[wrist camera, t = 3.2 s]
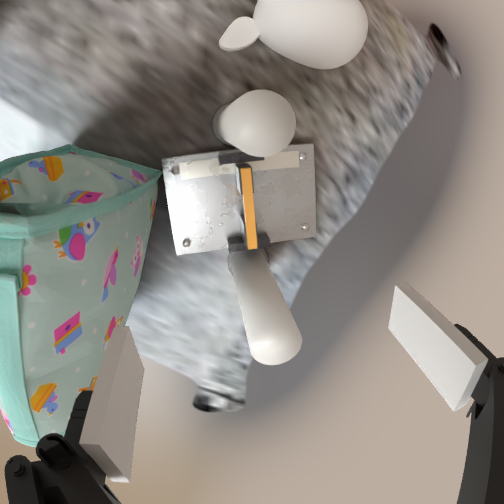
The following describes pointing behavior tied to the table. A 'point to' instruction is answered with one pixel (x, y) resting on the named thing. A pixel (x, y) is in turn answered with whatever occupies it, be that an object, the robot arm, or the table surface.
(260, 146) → the off-white domed rod
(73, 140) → the table surface
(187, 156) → the plate
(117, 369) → the robot arm
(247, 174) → the orange-faced thin slab
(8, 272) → the lunch bag
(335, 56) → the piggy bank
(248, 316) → the white tapered rounded cylinder
